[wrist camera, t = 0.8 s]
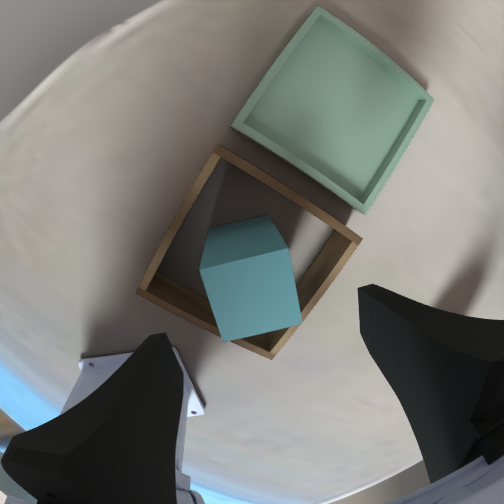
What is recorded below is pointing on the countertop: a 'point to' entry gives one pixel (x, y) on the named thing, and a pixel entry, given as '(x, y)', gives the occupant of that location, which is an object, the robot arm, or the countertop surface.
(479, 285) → the countertop surface
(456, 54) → the countertop surface
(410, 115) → the tray
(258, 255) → the block
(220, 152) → the sleeve
